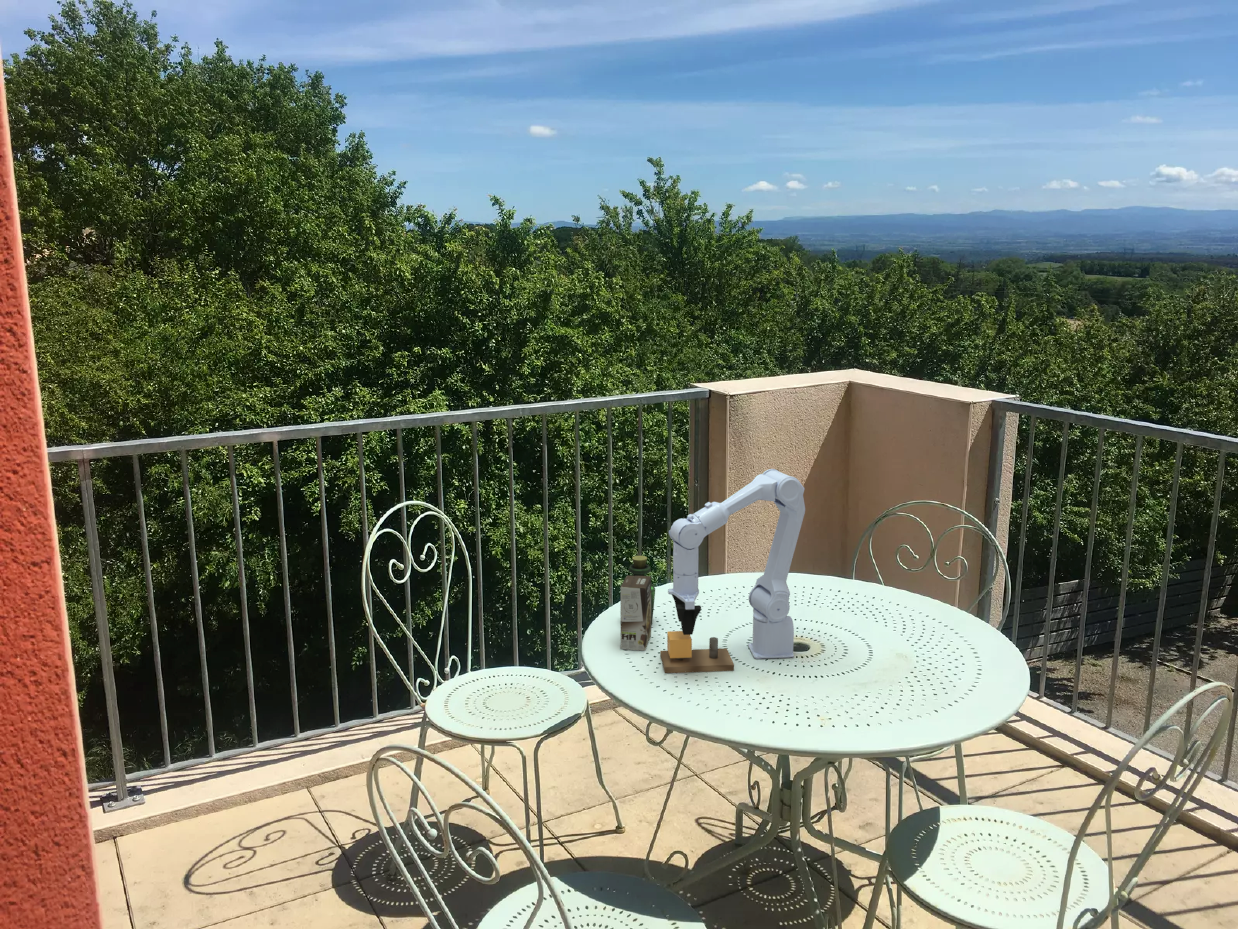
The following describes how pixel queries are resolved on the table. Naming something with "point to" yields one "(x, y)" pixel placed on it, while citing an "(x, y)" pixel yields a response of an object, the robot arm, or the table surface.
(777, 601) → the robot arm
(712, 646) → the wooden peg board
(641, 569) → the potion bottle
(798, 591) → the table surface
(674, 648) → the wooden toy cube
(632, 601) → the coffee box
